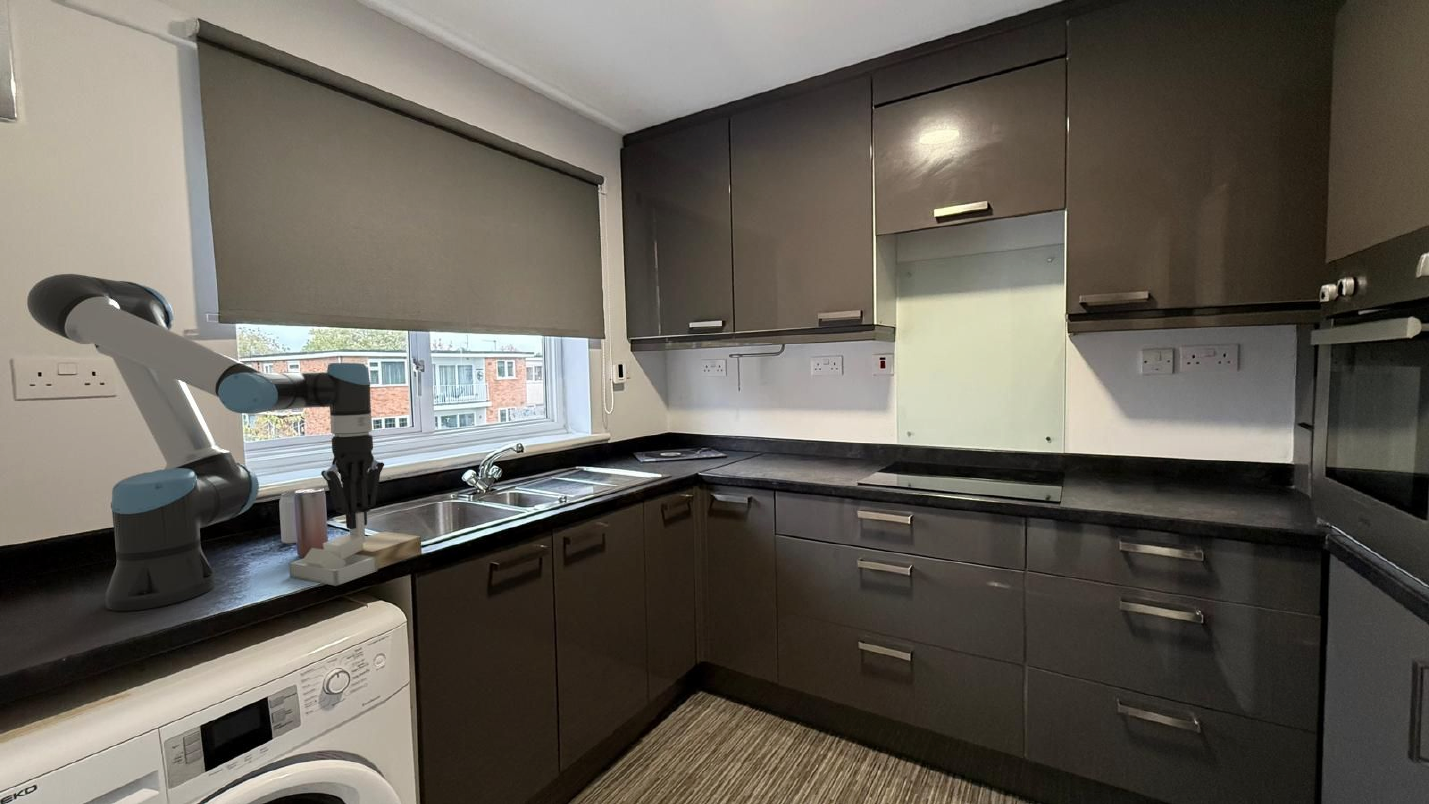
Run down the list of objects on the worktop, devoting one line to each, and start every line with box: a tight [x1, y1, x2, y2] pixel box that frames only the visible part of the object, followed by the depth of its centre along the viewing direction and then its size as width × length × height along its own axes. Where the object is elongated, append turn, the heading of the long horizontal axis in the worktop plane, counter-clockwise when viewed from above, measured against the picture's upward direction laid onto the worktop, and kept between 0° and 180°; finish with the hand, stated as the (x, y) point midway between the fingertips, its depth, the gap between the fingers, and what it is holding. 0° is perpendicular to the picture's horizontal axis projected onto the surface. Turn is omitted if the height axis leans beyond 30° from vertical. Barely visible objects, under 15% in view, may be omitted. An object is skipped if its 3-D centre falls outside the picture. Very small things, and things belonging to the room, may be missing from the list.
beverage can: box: [294, 487, 329, 559], centre depth 135 cm, size 6×6×15 cm
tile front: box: [302, 548, 346, 570], centre depth 120 cm, size 5×5×3 cm
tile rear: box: [323, 533, 364, 559], centre depth 124 cm, size 5×5×3 cm
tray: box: [288, 554, 378, 587], centre depth 122 cm, size 9×14×3 cm, turn 68°
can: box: [278, 491, 297, 545], centre depth 147 cm, size 6×6×12 cm
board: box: [355, 531, 423, 570], centre depth 132 cm, size 12×12×4 cm
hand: (357, 542), depth 127 cm, fingers closed
